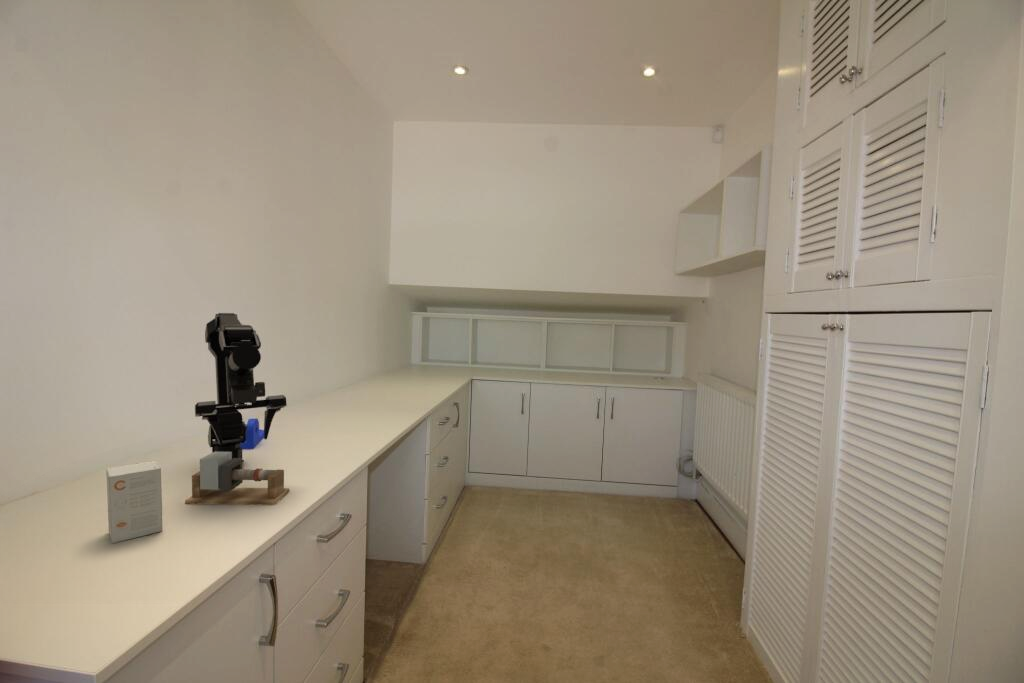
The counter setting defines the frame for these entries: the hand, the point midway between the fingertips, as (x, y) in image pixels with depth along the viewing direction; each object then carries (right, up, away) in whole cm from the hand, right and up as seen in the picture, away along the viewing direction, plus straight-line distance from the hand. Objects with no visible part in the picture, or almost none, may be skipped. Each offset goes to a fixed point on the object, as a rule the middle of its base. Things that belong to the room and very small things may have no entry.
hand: (244, 442), depth 115 cm
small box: (-11, -14, -18) cm, 26 cm away
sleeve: (-6, -10, 0) cm, 12 cm away
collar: (-3, -11, 0) cm, 11 cm away
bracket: (-24, -10, +46) cm, 53 cm away
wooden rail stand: (-1, -13, 0) cm, 13 cm away
